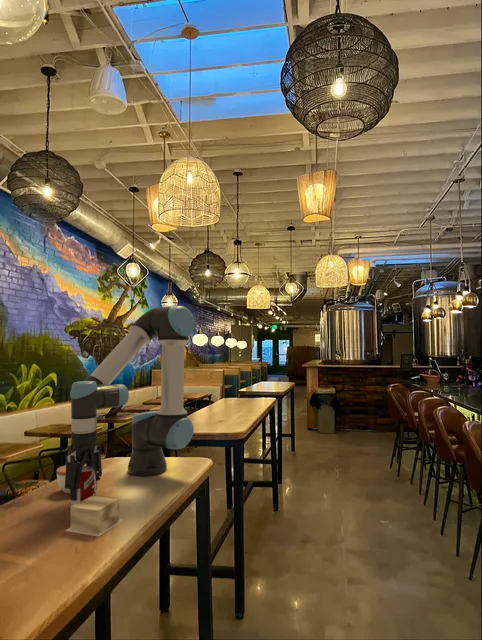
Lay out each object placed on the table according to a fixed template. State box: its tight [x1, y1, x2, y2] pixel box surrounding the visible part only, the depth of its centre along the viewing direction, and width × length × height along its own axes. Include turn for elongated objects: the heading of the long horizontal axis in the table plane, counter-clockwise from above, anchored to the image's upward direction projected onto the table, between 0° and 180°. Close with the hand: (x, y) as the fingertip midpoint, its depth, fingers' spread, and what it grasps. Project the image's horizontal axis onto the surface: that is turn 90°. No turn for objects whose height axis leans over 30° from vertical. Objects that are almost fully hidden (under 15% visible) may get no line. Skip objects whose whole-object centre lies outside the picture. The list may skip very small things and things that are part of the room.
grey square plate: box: [64, 518, 125, 537], centre depth 122 cm, size 14×14×1 cm
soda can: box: [74, 466, 97, 502], centre depth 137 cm, size 7×7×12 cm
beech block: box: [69, 495, 120, 534], centre depth 121 cm, size 9×9×6 cm
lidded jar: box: [56, 463, 86, 494], centre depth 154 cm, size 11×11×9 cm
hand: (84, 505), depth 137 cm, fingers closed on soda can, 7 cm apart
